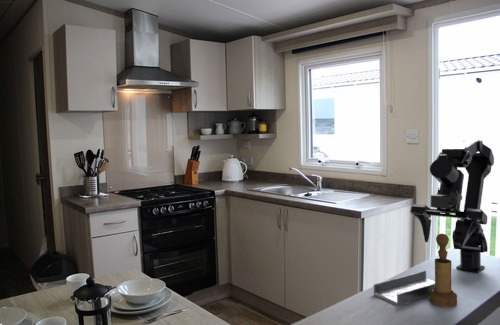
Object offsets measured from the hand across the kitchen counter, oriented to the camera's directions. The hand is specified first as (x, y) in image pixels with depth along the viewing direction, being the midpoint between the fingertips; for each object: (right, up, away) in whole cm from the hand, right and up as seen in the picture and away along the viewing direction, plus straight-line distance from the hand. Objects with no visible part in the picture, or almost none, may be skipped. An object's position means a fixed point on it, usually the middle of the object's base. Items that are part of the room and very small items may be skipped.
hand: (443, 244), depth 116 cm
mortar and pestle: (-2, -14, -5) cm, 15 cm away
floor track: (-7, -14, +3) cm, 16 cm away
